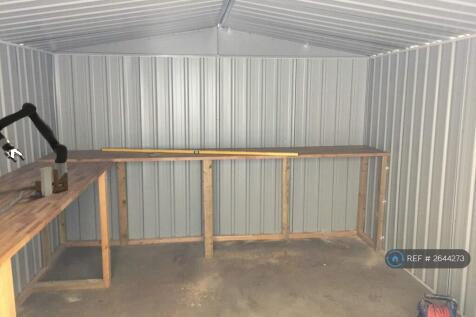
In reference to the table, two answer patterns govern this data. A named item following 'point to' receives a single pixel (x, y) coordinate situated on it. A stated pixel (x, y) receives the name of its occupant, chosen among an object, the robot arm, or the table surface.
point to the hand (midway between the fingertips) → (20, 160)
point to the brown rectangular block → (38, 186)
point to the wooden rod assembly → (63, 179)
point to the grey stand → (45, 183)
